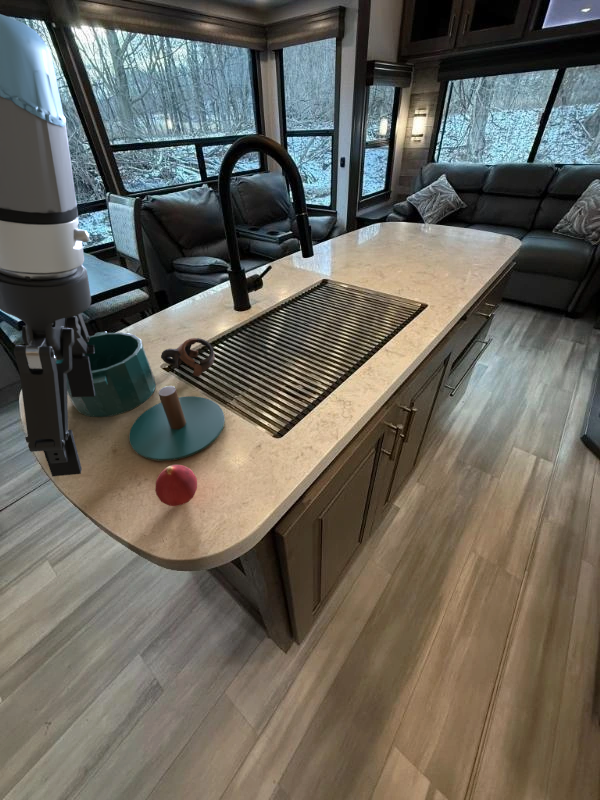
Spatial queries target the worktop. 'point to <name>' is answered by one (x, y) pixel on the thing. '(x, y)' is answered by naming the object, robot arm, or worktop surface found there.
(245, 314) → the worktop surface
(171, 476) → the onion
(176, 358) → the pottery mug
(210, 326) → the worktop surface
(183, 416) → the lid
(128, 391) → the pot
